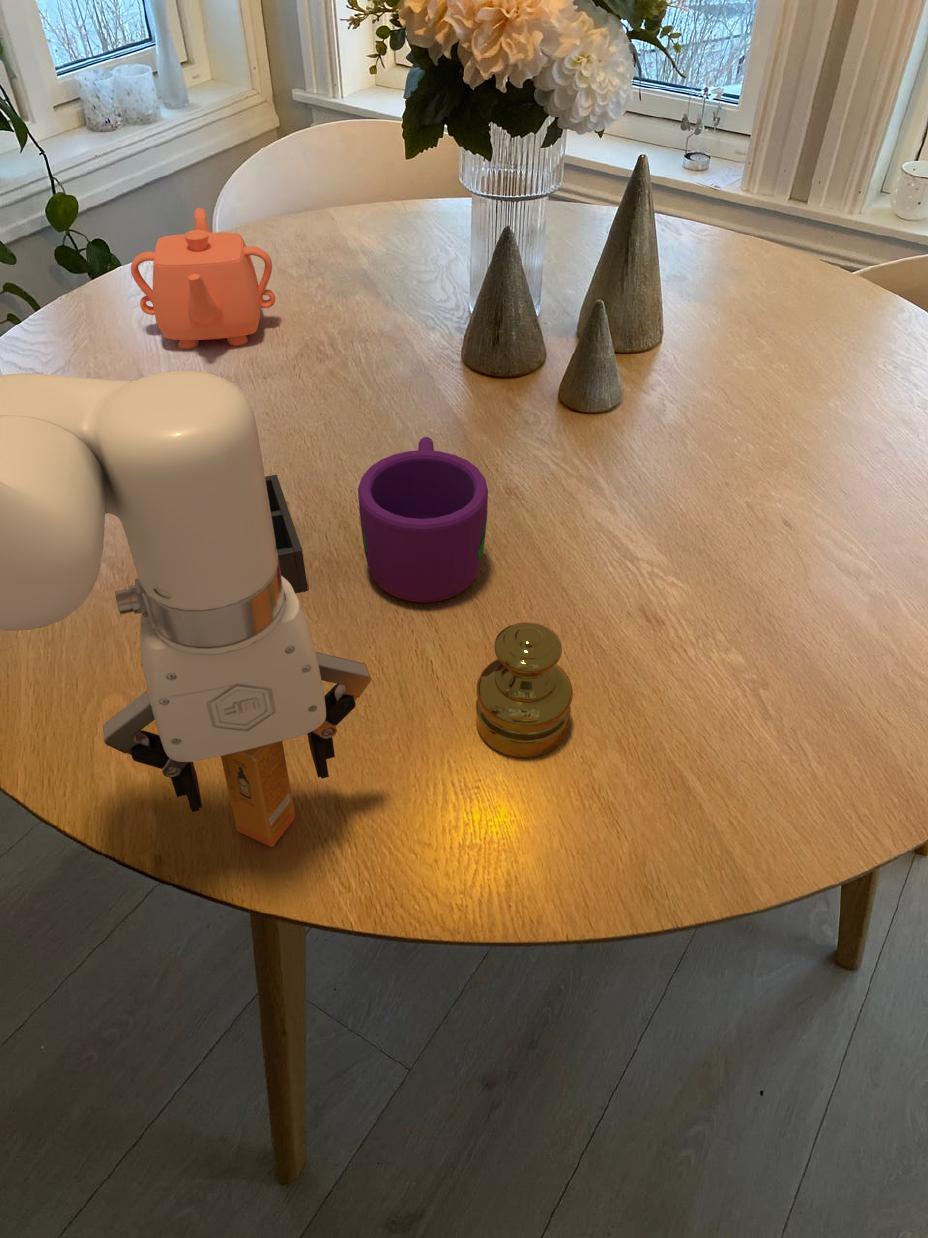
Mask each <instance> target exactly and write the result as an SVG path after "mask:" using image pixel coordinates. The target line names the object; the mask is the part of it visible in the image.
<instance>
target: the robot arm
mask: <svg viewBox="0 0 928 1238" xmlns="http://www.w3.org/2000/svg"><path fill="white" fill-rule="evenodd" d="M265 476H266V475H265V468H264V463H263V456H262V449H261V444H260V437H259V430H258V426H257V421H256V417H255V413H254V409H253V407H252V405H251V403H250V401H249V400H248V398H247V396H246V395H245V394H244V393H243V392H242V390H241V389H240V388H239V387H237V386H236V385H235V384H234V383H232V382H230V381H229V380H228V379H226V378H223V377H220V376H218V375H216V374H214V373H213V374H212V373H210V372H209V373H208V372H205V371H197V370H169V371H162V372H157V373H152V374H149V375H146V376H142V377H140V378H137V379H135V380H120V379H118V380H117V379H102V378H90V377H78V376H68V375H59V374H46V373H33V372H32V373H29V372H28V373H25V372H24V373H22V372H21V373H20V372H19V373H9V374H1V375H0V631H6V632H17V631H18V632H19V631H32V630H36V629H41V628H45V627H48V626H51V625H54V624H56V623H58V622H61V621H63V620H64V619H66V618H67V617H68V616H71V615H72V614H73V613H74V612H76V611H77V610H78V609H79V608H80V607H81V606H82V605H83V604H84V602H85V601H86V600H87V599H88V598H89V596H90V595H91V593H92V591H93V589H94V587H95V585H96V583H97V581H98V577H99V575H100V571H101V566H102V558H103V553H104V552H103V551H104V541H105V524H106V523H105V522H106V515H107V514H109V515H113V516H115V517H116V518H118V519H119V521H120V523H121V525H122V527H123V530H124V534H125V537H126V540H127V543H128V546H129V551H130V554H131V557H132V561H133V563H134V564H133V565H134V567H135V571H136V573H137V577H138V578H135V579H134V584H131V585H128V588H125V589H119V590H115V591H114V595H115V601H116V605H117V609H118V613H119V614H120V615H125V614H131V613H134V615H138V614H140V626H139V627H140V629H139V631H140V632H139V645H140V656H141V664H142V671H143V676H144V681H145V685H146V689H147V690H146V691H144V692H143V693H142V694H140V695H139V696H138V697H137V698H134V700H132V702H129V703H128V705H126V706H125V707H124V708H122V709H121V710H120V711H118V712H117V713H116V714H115V715H113V716H112V717H111V718H110V719H108V720H107V721H105V723H103V725H102V732H103V733H102V734H103V742H104V744H105V745H107V746H108V747H109V748H112V749H114V750H116V751H118V752H121V753H122V754H125V755H126V754H128V755H130V756H131V759H132V760H133V761H134V762H136V763H140V764H143V765H147V766H150V767H154V768H156V769H160V770H161V771H162V772H161V773H162V776H164V777H166V778H170V780H171V783H172V786H173V789H174V793H175V795H176V798H180V797H184V796H186V799H187V802H188V804H189V808H190V810H191V813H195V812H198V811H201V808H202V809H203V803H202V797H201V791H200V785H199V779H198V775H197V771H196V768H195V764H194V763H195V762H199V761H200V762H201V761H205V760H210V759H214V758H219V757H221V756H223V755H227V754H231V753H236V752H240V751H244V750H248V749H252V748H256V747H260V746H264V745H268V744H272V743H276V742H280V741H282V742H283V741H287V740H290V739H294V738H298V737H300V736H305V735H307V740H308V746H309V750H310V753H311V758H312V760H313V765H314V768H315V772H316V775H317V778H320V779H321V780H322V779H326V778H329V777H330V775H329V768H328V760H330V759H334V758H336V753H335V747H334V739H333V737H334V736H336V734H337V733H338V729H337V726H339V724H340V722H342V721H343V720H344V719H345V718H346V717H347V716H348V715H349V714H350V713H351V712H352V711H353V710H354V709H355V708H356V704H357V703H356V701H357V699H358V698H360V697H361V696H362V694H363V693H364V692H365V691H366V689H367V688H368V686H369V685H370V684H371V681H372V677H371V674H370V672H369V669H368V666H367V664H366V663H365V662H361V661H357V660H352V659H348V658H343V657H339V656H335V655H331V654H326V653H322V652H318V651H316V647H315V643H314V640H313V636H312V635H313V634H312V632H311V628H310V625H309V622H308V620H307V616H306V614H305V611H304V608H303V605H302V604H301V602H300V600H299V598H298V596H297V594H296V593H295V592H294V590H293V588H292V586H291V584H290V583H289V582H288V581H287V580H286V579H285V578H284V577H282V576H281V572H280V566H279V559H278V554H277V548H276V541H275V536H274V529H273V523H272V517H271V511H270V505H269V499H268V492H267V486H266V480H265ZM323 682H326V683H330V684H331V683H333V684H335V685H333V686H332V688H331V689H329V690H328V692H326V693H325V692H324V686H323ZM153 721H154V722H155V725H156V730H157V733H158V734H157V733H153V732H150V731H147V730H143V729H145V728H146V727H147V726H148V725H150V724H151V723H153Z"/></svg>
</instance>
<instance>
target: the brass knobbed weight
mask: <svg viewBox="0 0 928 1238" xmlns="http://www.w3.org/2000/svg"><path fill="white" fill-rule="evenodd" d="M493 648H494V654H495V656H496V658H497V659H495V660H493V661H491V662H490V663H488V665H487V666H485V668H484V669H483V670H482V672H481V673H480V675H479V676H478V679H477V682H476V701H475V711H476V720H475V721H476V727H477V730H478V733H479V736H481V739H482V740H483V741H484V742H485V743H486V744H487V745H488V746H490V747H491V748H492V749H494V750H495V751H497V752H499V753H501V754H504V755H507V756H511V757H516V758H532V757H537V756H541V755H544V754H547V753H549V752H550V751H553V750H554V749H555V748H556V747H558V746H559V745H560V744H561V742H562V741H563V740H564V738H565V736H566V734H567V731H568V726H569V720H570V718H571V710H572V709H571V705H572V702H573V696H574V690H573V689H574V688H573V684H572V681H571V679H570V676H569V675H568V674H567V672H566V671H565V670H564V669H563V668H562V667H561V666H560V665H559V664H557V663H558V662H559V661H560V659H561V657H562V652H563V645H562V641H561V639H560V637H559V636H558V634H557V633H556V632H555V631H554V630H552V629H551V628H549V627H547V626H545V625H543V624H540V623H537V622H530V621H529V622H527V621H526V622H523V621H522V622H517V623H513V624H510V625H507V626H506V627H505V628H503V629H502V630H501V631H500V632H499V633H498V635H497V636H496V638H495V640H494V647H493Z"/></svg>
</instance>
